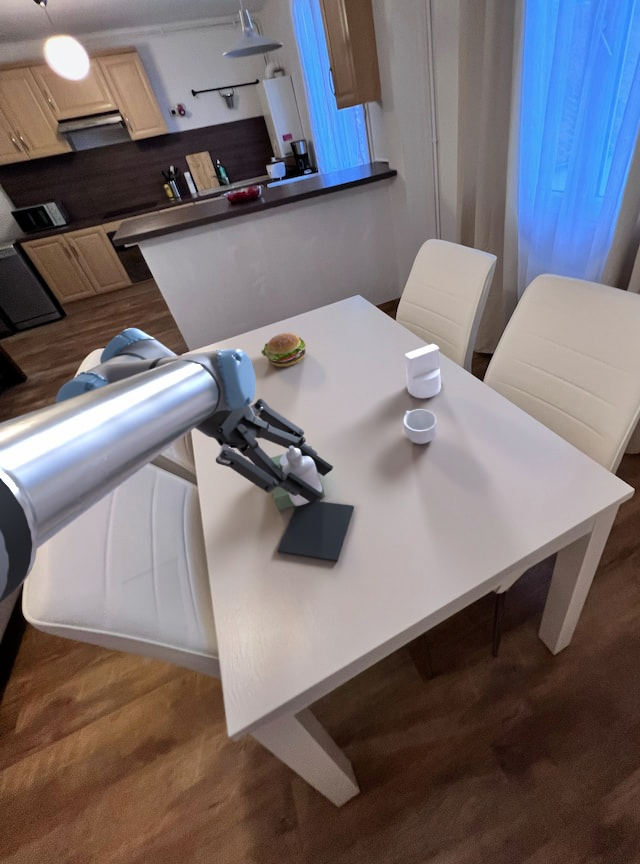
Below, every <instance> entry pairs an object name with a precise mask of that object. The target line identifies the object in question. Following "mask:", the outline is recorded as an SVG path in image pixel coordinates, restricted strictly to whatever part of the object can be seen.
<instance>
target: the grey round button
mask: <svg viewBox="0 0 640 864" xmlns="http://www.w3.org/2000/svg"><path fill="white" fill-rule="evenodd" d="M286 453H287V452H285V453H283V454H284V455H282V454H281V455H282V457H281V458H280V464H281V467H282V469H283V468H284V467H285V465H286V464H287V463H288V460H287V457H286Z"/></svg>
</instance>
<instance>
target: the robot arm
mask: <svg viewBox="0 0 640 864" xmlns="http://www.w3.org/2000/svg"><path fill="white" fill-rule="evenodd" d="M99 363H100V364H97V365H95V366H94V367H92V368H90V369H88V370H86V371H81V372H80V373H78V374H77V375H76V376H75V377H74V378H72V379H70V380H69V381H67V382H66V383H64V384H63V385H62V386H61V387H60V388H59V389H58V392H57V394H56V397H55V403H52V404H50V405H47V406H45V407H42V408H39V409H36V410H33V411H30V412H28V413H25V414H22V415H19V416H17V417H14V418H10V419H8V420H5V421H2V422H0V604H1V603H2V602H3V601H4V600H5V599H7V598H8V597H9V596H11V595H12V594H13V593H14V592H15V591H16V590H17V589H18V588H19V587H21V586H22V584H23V583H24V582H25V581H26V580H27V578H28V577H29V576H30V573H31V571H32V570H33V568H34V564H35V561H36V558H37V553H38V552H37V550H38V549H39V548H40V547H42V545H44V544H46V543H47V542H48V541H49V540H50V539H52V538H53V537H54V536H56V535H57V534H58V533H60V532H61V531H62V530H63V529H65V528H66V527H67V526H69V525H70V524H72V523H73V522H74V521H75V520H77V519H78V518H79V517H80V516H82V515H84V513H86V512H87V511H88V510H90V509H91V508H92V507H94V506H95V505H96V504H97V503H99V502H100V501H102V500H103V499H104V498H105V497H106V496H108V495H109V494H110V493H112V492H113V491H114V490H116V489H117V488H118V487H120V486H121V485H122V484H124V483H125V482H126V481H127V480H129V479H130V478H131V477H133V476H134V475H135V474H137V473H138V472H139V471H141V470H142V469H143V468H144V467H146V466H147V465H149V463H151V462H153V460H154V459H155V460H156V458H157V457H159V456H160V455H161V454H163V453H164V452H166V451H167V450H169V448H171V447H172V446H173V445H174V444H176V443H177V442H179V441H180V440H181V439H182V438H184V437H185V436H187V434H189V433H191V431H193V430H194V429H196V430H197V431H199V432H201V433H202V434H204V435H205V436H206V437H208V438H211V439H212V438H213V439H214V440H215V441H216V442H217V443H218V445H219V446H220V450H219V452H218V453H219V454H218V455H217V456H216V457H215V462H216V464H218V465H221V466H224V467H228V468H229V469H231V470H233V471H234V472H236V473H237V474H239V475H240V476H241V477H243V478H245V479H246V480H247V481H249V482H251V483H252V484H254V486H257V488H259V489H261V490H262V491H264V492H265V493H267V494H269V493H271V492H273V490H274V489H275V488H276V487H281V488H283V489H284V490H286V491H287V492H289V493H290V494H292V495H294V496H296V495H298V494H299V495H300V496H302V497H303V498H305V499H306V500H308V501H309V502H311V503H312V504H313V503H314V502H316V501H318V500H319V501H320V499H322V498H323V497H322V493H321V492H319V491H318V490H316V489H315V488H313V487H312V486H310V485H309V484H307V483H306V482H304V481H303V480H301V479H300V478H298V477H297V476H295V475H294V474H292V473H291V472H290V473H288V474H287V475H286V474H285V473H284V472H283V471H282V470H281V469H280V468H279V467H278V466H277V465H276V464H275V463H274V462H273V461H272V459H271V458H272V457H270V456H269V455H268V454H267V453H266V452H265V451H264V450H263V449H262V448H261V447H260V445H259V442H258V441H257V440H256V439H262V440H265V441H268V442H271V443H273V444H276V445H278V446H281V447H283V448H285V449H288V450H289V446H291V445H292V446H293V447H294V448H298V449H300V451H301V454H302V456H309V457H311V458H312V460H313V461H314V463H315V466H316V469H317V472H318V473H319V475H320V476H323V477H325V476H326V475H327V474H329V473H330V472H331V471H333V468H334V466H333V465H332V464H330V463H329V462H327V461H326V460H325V459H323V458H321V457H320V456H319V455H318V452H317V451H316V450H315V449H313V447H312V448H310V447H309V446H310V445H308V444H306V441H307V439H306V438H305V436H304V435H305V430H303V429H302V428H301V427H299V426H297V425H296V424H295V423H293V422H292V421H290V420H289V419H287V417H285V416H283V415H282V414H280V413H279V412H277V411H275V410H274V409H273V408H272V407H270V406H269V405H268V404H267V402H266V401H265V400H264V399H263V398H258V399H257V400H256V401H255V403H253V401H254V399H255V395H256V389H257V384H256V373H255V370H254V365H253V363H252V360H251V358H250V356H249V354H247V353H246V352H245V351H243V350H242V349H239V348H233V349H232V348H231V349H219V348H218V349H216V350H213V351H212V350H211V351H205V352H196V353H188V354H181V355H178V354H176V353H175V352H173V351H172V350H170V349H169V348H168V347H166V346H165V345H164V344H163V343H161V342H160V341H159V340H158V339H157V338H154V337H153V336H150V335H149V334H147V333H145V332H144V331H142V330H141V329H138V328H136V327H129V328H126V329H124V330H122V331H121V332H120V333H119V334H118V335H116V336H114V337H113V338H112V339H111V340H110V341H109V343H108V344H107V345H106V346H105V348H104V349H103V350H102V352H101V355H100V358H99ZM252 403H253V404H252ZM251 404H252V405H251ZM235 449H236V450H237V451H238V452H239V453H240V454H239V453H237V452H236V450H235ZM248 459H249V460H248Z"/></svg>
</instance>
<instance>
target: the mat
mask: <svg viewBox="0 0 640 864" xmlns="http://www.w3.org/2000/svg"><path fill="white" fill-rule="evenodd" d="M354 508H355V505H350V504H344V503H343V504H341V503H334V502H328V501H327V502H326V501H320V500H319V501H318V500H317V501H316V502H314V503H313V504H312V503H311V502H308V503H306V504H303V505H299V506H296V505H295V508H294V510H293V513H292V515H291V517H290V519H289V522H288V523H287V527H286V529H285V531H284V533H283V536H282V538H281V540H280V543H279V545H278V547H277V549H276V552H277V553H280V554H287V555H293V556H297V557H304V558H309V559H310V558H311V559H316V560H323V561H329V562H334V563H338V562H339V558H340V555H341V552H342V548H343V545H344V541H345V539H346V535H347V532H348V528H349V525H350V522H351V519H352V515H353V512H354Z"/></svg>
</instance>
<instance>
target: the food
mask: <svg viewBox="0 0 640 864" xmlns="http://www.w3.org/2000/svg"><path fill="white" fill-rule="evenodd" d="M306 346H307V345H306V343H305V341H304V340H303V339H302V338H301V337H299V336H298V335H297V334H294V333H290V332H287V333H286V332H285V333H280V334H277V335H275V336H273V337H272V338H271V339H269V341H268V342H266V343H265V344H264V347H263V349H261V354H262V355H263V356H265V357H266V358H267V359H268V362H270V364H272V365H273V366H275V367H278V368H279V367H281V368H282V367H290V366H293V365H295V364H297V363H299V362H300V361H302V360H303V359H304V357H305V354H306Z"/></svg>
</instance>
